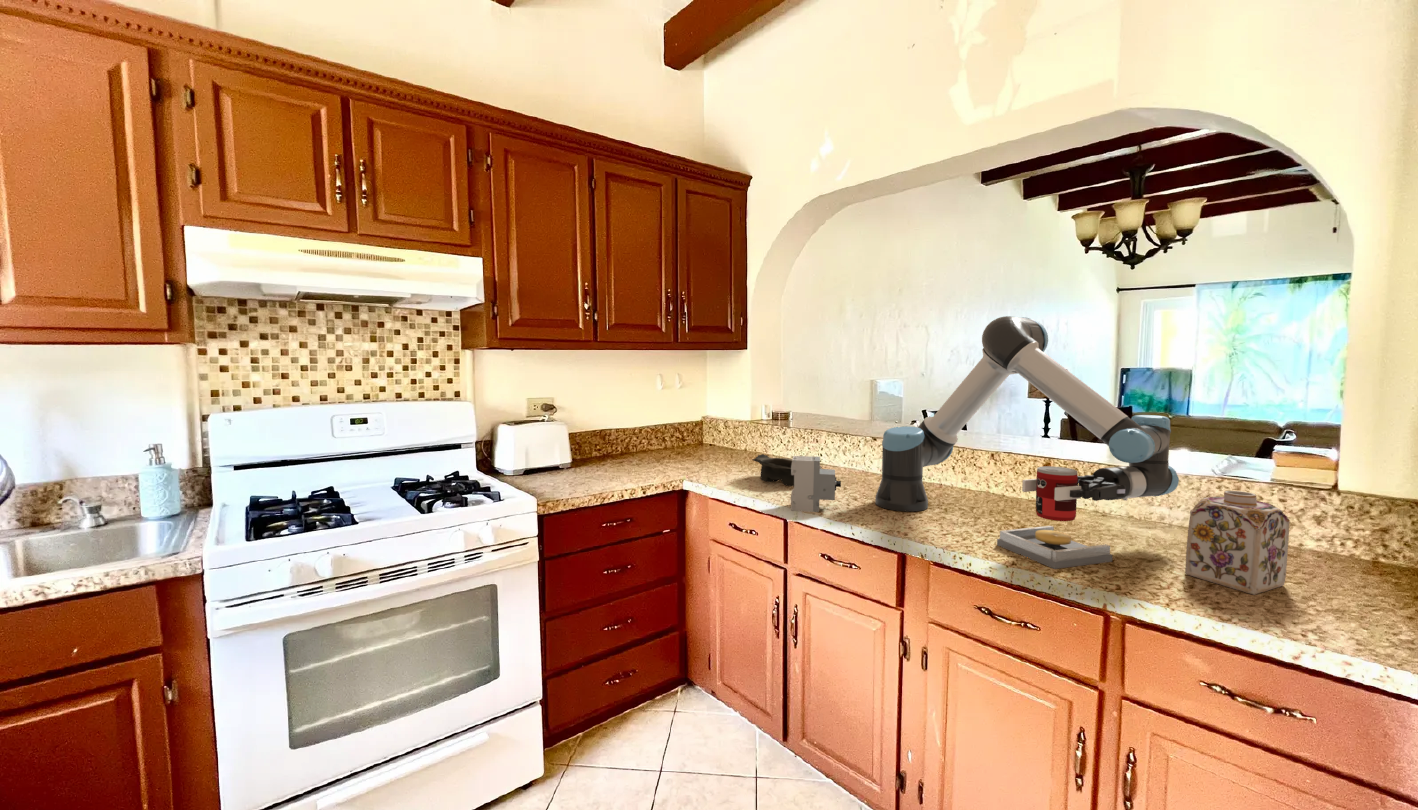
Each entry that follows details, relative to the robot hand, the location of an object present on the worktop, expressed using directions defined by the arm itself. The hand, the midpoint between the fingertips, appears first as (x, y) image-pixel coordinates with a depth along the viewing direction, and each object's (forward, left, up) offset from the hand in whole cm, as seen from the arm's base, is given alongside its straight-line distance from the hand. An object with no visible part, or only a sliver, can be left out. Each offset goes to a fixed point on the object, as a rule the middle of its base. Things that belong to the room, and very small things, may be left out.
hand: (1039, 489), depth 128 cm
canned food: (+4, +2, -7) cm, 8 cm away
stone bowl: (-63, +64, -15) cm, 91 cm away
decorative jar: (+34, -7, -15) cm, 38 cm away
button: (+4, +2, -13) cm, 14 cm away
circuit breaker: (-51, +28, -15) cm, 60 cm away
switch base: (+4, +2, -15) cm, 16 cm away
